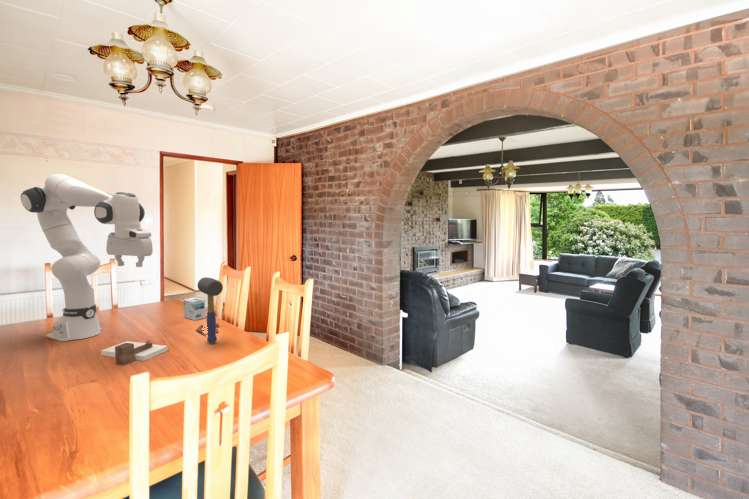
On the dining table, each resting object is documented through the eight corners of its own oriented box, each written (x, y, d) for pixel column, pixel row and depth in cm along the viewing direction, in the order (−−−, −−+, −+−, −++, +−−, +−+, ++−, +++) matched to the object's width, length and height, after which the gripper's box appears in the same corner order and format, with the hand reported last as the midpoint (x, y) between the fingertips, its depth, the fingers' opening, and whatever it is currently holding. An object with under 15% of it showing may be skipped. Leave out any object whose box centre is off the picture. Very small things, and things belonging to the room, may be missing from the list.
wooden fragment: (218, 335, 182) (218, 333, 181) (193, 338, 178) (193, 335, 178) (220, 321, 205) (220, 319, 205) (198, 323, 202) (198, 321, 202)
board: (101, 355, 155) (101, 350, 155) (127, 345, 166) (127, 341, 166) (144, 361, 149) (143, 356, 149) (167, 350, 161) (167, 346, 160)
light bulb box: (206, 318, 210) (205, 299, 209) (194, 320, 205) (194, 301, 204) (194, 315, 216) (194, 296, 215) (183, 317, 210) (182, 299, 209)
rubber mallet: (226, 344, 168) (224, 278, 165) (209, 348, 163) (206, 281, 160) (214, 338, 177) (212, 275, 174) (198, 341, 172) (195, 277, 169)
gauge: (115, 364, 146) (114, 346, 145) (147, 351, 160) (146, 335, 159) (123, 365, 145) (122, 347, 144) (154, 352, 159) (153, 336, 158)
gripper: (100, 232, 151) (103, 266, 152) (141, 233, 146) (143, 268, 147) (115, 231, 157) (117, 264, 159) (154, 232, 152) (156, 266, 153)
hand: (130, 266), depth 153 cm, fingers open, 8 cm apart
